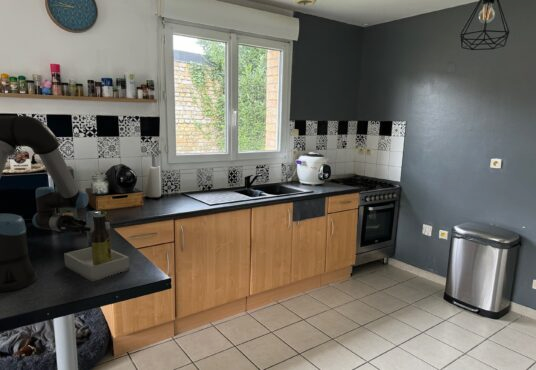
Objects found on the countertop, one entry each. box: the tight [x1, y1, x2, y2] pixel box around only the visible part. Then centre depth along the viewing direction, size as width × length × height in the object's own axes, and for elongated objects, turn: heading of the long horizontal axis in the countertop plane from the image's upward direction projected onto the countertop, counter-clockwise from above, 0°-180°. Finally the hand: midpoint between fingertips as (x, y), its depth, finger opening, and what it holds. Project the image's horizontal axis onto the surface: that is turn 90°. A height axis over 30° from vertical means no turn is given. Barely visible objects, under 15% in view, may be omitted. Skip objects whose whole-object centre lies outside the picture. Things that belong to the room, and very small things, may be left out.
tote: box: [63, 247, 130, 283], centre depth 141 cm, size 22×14×5 cm, turn 49°
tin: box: [84, 210, 102, 248], centre depth 164 cm, size 6×6×15 cm
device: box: [55, 165, 78, 219], centre depth 204 cm, size 16×8×30 cm, turn 33°
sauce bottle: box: [91, 215, 112, 266], centre depth 136 cm, size 6×6×20 cm
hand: (103, 227), depth 162 cm, fingers closed on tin, 6 cm apart
